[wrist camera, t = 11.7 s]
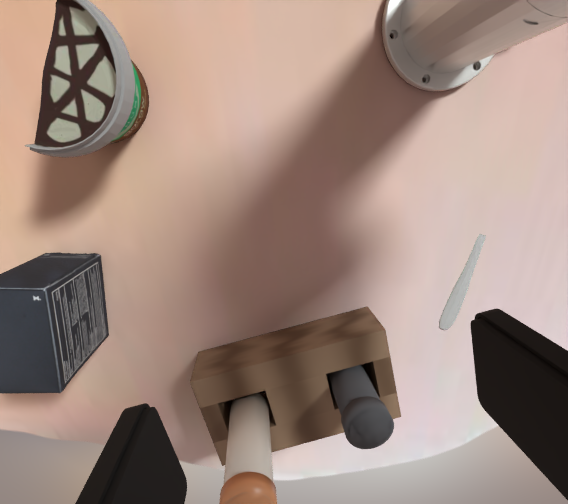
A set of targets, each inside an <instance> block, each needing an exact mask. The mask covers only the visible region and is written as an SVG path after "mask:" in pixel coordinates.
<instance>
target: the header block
mask: <svg viewBox="0 0 568 504" xmlns="http://www.w3.org/2000/svg"><path fill="white" fill-rule="evenodd" d="M361 364H364V367H363V368H364V370H365V372H366V374H367V376H368V378H369V379H370V381H371V383H372V385H373V387H374V389H375V391H376V393H377V395H378V397H379V398H380V400H381V401H382V402H383V403H384V404H385V406H386V407H387V409H388V411H389V413H390V415H391V417H392V419H395V418H398V417H401V413H400V408H399V402H398V397H397V391H396V386H395V380H394V375H393V369H392V364H391V358H390V353H389V347H388V342H387V336H386V331H385V329H384V327H383V326H382V325H381V323H380V322H379V321H378V320H377V318H376V317H375V316H374V314H373V313H372V312H371V310H370V309H369V308H368V307H364V308H360V309H357V310H353V311H349V312H346V313H342V314H338V315H334V316H331V317H327V318H323V319H319V320H316V321H312V322H308V323H305V324H301V325H297V326H293V327H290V328H286V329H282V330H278V331H275V332H271V333H267V334H264V335H260V336H256V337H252V338H249V339H245V340H241V341H238V342H234V343H230V344H226V345H223V346H219V347H215V348H211V349H208V350H204V351H200V352H198V356H197V359H196V363H195V367H194V370H193V374H192V377H191V381H190V384H191V386H192V389H193V391H194V394H195V396H196V399H197V402H198V404H199V407H200V409H201V412H202V415H203V417H204V420H205V422H206V425H207V427H208V430H209V433H210V435H211V438H212V440H213V443H214V446H215V448H216V451H217V453H218V456H219V458H220V461H221V464H222V466H223V465H225V464H226V453H227V442H228V431H229V420H230V409H231V404H232V402H233V400H232V399H236V398H239V397H243V396H247V395H251V394H254V393H258V392H262V391H266V394H262V396H263V397H264V398H265V399H266V400H267V402H268V406H269V421H270V438H271V452H274V451H278V450H282V449H285V448H289V447H293V446H296V445H300V444H303V443H307V442H311V441H314V440H318V439H322V438H325V437H329V436H333V435H336V434H340V433H344V429H343V426H342V423H341V414H340V411H339V408H338V405H337V402H336V399H335V396H334V394H333V391H332V388H331V385H330V382H329V379H328V377H326V374H328V373H332V372H335V371H339V370H343V369H346V368H350V367H354V366H357V365H361Z"/></svg>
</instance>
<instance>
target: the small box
mask: <svg viewBox="0 0 568 504" xmlns="http://www.w3.org/2000/svg"><path fill="white" fill-rule="evenodd" d="M108 336H109V333H108V323H107V312H106V302H105V292H104V282H103V273H102V264H101V255H99V254H95V253H93V254H86V253H85V254H70V253H68V254H65V253H45V254H43V255H41V256H39V257H37V258H34V259H32V260H30V261H28V262H26V263H24V264H21V265H19V266H17V267H15V268H13V269H11V270H9V271H6V272H4V273H2V274H0V393H61V392H62V391H63V390H64V389H65V387H66V386H67V384H68V383H69V382H70V380H71V379H72V378H73V376H74V375H75V374H76V373H77V371H78V370H79V369H80V368H81V367H82V366H83V365H84V363H85V362H86V361H87V360H88V359H89V357H90V356H91V355H92V354H93V353H94V351H95V350H96V349H97V348H98V347H99V346H100V345H101V343H102V342H103V341H104V340H105V339H106V338H107V337H108Z"/></svg>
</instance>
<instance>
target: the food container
mask: <svg viewBox="0 0 568 504" xmlns="http://www.w3.org/2000/svg"><path fill="white" fill-rule="evenodd" d="M148 107H149V95H148V89H147V86H146V83H145V80H144V78H143V76H142V74H141V72H140V71H139V69H138V68H137V66H136V65H135V64H134V63H133V61H132V60H131V59H130V56H129V52H128V50H127V48H126V46H125V43H124V41H123V39H122V37H121V36H120V34H119V33H118V31H117V30H116V28H115V27H114V25H113V24H112V23H111V21H110V20H109V19H108V18H107V17H106V16H105V14H104V13H103V12H102V11H100V10H99V9H98V8H97V7H96V6H95V5H94V4H93V3H91V2H90V1H88V0H57V2H56V13H55V20H54V26H53V32H52V37H51V41H50V45H49V49H48V53H47V57H46V61H45V66H44V70H43V79H42V95H41V106H40V113H39V120H38V126H37V132H36V138H35V144H30V145H25V146H27V147H30V150H32V151H35V152H37V153H40V154H44V155H49V156H55V157H77V156H82V155H86V154H90V153H92V152H94V151H97V150H99V149H101V148H102V147H104V146H105V145H107V144H109V143H116V142H119V141H121V140H124V139H127V138H129V137H130V136H132V135H133V134H134V133H135V132H136V131H137V130H139V129H140V127H141V126H142V124H143V122H144V120H145V119H146V116H147V113H148Z"/></svg>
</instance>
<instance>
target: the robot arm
mask: <svg viewBox="0 0 568 504" xmlns="http://www.w3.org/2000/svg"><path fill="white" fill-rule="evenodd" d="M566 23H568V0H387V1H386V4H385V8H384V13H383V20H382V35H383V44H384V47H385V51H386V54H387V57H388V59H389V61H390V63H391V65H392V67H393V68H394V69H395V71H396V72H397V73H398V75H399V76H400V77H402V78H403V79H404V80H405V81H406V82H407V83H409V84H411V85H413V86H414V87H416V88H419V89H423V90H426V91H444V90H449V89H452V88H456V87H458V86H461V85H463V84H465V83H467V82H469V81H470V80H471V79H473V78H474V77H476V76H477V75H478V74H479V73H480V72H481V71H482V70H483V69H484V68H485V67H486V66H487V65H488V63H489V62H490V60H491V59H492V58H493V56H494V55H495V54H496V53H498V52H501V51H503V50H505V49H508V48H510V47H512V46H515V45H517V44H519V43H522V42H524V41H526V40H529V39H531V38H533V37H536V36H538V35H540V34H543V33H545V32H547V31H549V30H552V29H554V28H556V27H559V26H561V25H563V24H566ZM389 35H391V36H392V39H391V38H390V36H389ZM422 78H423V79H424V83H423V81H422ZM471 334H472V344H473V354H474V364H475V374H476V384H477V394H478V399H479V401H480V404H481V405H482V407H483V408H484V410H485V411H486V412H487V413H488V414H489V415H490V416H491V417H492V419H493V420H494V421H495V422H496V423H497V424H498V425H499V426H500V427H501V428H502V429H503V430H504V432H505V433H507V435H508V436H509V437H510V438H511V439H512V440H513V441H514V442H515V444H516V445H517V446H518V447H519V448H520V449H521V450H522V451H523V452H524V453H525V454H526V455H527V457H528V458H530V460H531V461H532V462H533V463H534V464H535V465H536V466H537V467H538V469H539V470H540V471H541V472H542V473H543V474H544V475H545V476H546V477H547V478H548V479H549V481H550V482H551V483H552V484H553V485H554V486H555V487H556V488H557V489H558V490H559V491H560V492H561V493H562V495H563V496H564V497H565V498H566V499H567V500H568V351H567V350H565V349H564V348H562V347H560V346H559V345H557V344H556V343H554V342H552V341H551V340H549V339H547V338H546V337H544V336H543V335H541V334H539V333H538V332H536V331H534V330H533V329H531V328H529V327H528V326H526V325H525V324H523V323H521V322H520V321H518V320H516V319H515V318H513V317H512V316H510V315H508V314H507V313H505V312H503V311H502V310H500V309H493V310H489V311H485V312H481V313H478V314H476V316H475V320H472V321H471ZM186 491H187V482H186V477H185V474H184V472H183V470H182V467H181V465H180V463H179V460H178V458H177V456H176V453H175V451H174V449H173V446H172V444H171V442H170V440H169V437H168V435H167V433H166V430H165V428H164V426H163V423H162V421H161V419H160V416H159V414H158V412H157V410H156V408H155V407H150V406H149V405H148V404H141V405H137V406H134V407H130V408H127V409H125V410H124V411H123V412H122V414H121V416H120V418H119V420H118V422H117V424H116V426H115V428H114V430H113V432H112V434H111V435H110V437H109V439H108V441H107V443H106V445H105V447H104V449H103V451H102V453H101V455H100V457H99V459H98V461H97V463H96V465H95V467H94V468H93V470H92V473H91V474H90V476H89V478H88V480H87V482H86V484H85V486H84V488H83V490H82V492H81V494H80V496H79V498H78V500H77V502H76V503H75V504H184V502H185V497H186Z"/></svg>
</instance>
